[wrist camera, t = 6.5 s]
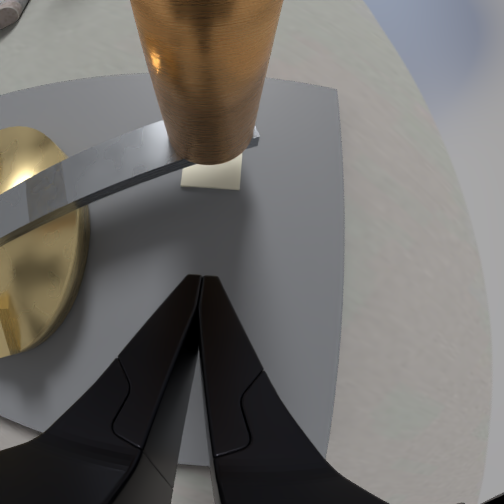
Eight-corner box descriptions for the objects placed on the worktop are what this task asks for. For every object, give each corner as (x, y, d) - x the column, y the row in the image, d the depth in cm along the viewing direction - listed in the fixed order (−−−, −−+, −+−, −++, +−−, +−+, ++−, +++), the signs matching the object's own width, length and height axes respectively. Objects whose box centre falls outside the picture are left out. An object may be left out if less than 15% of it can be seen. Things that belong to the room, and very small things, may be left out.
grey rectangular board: (-71, 367, 13) (-82, 369, 12) (-38, 116, 17) (-46, 109, 15) (317, 452, 16) (325, 464, 15) (330, 100, 20) (337, 87, 18)
